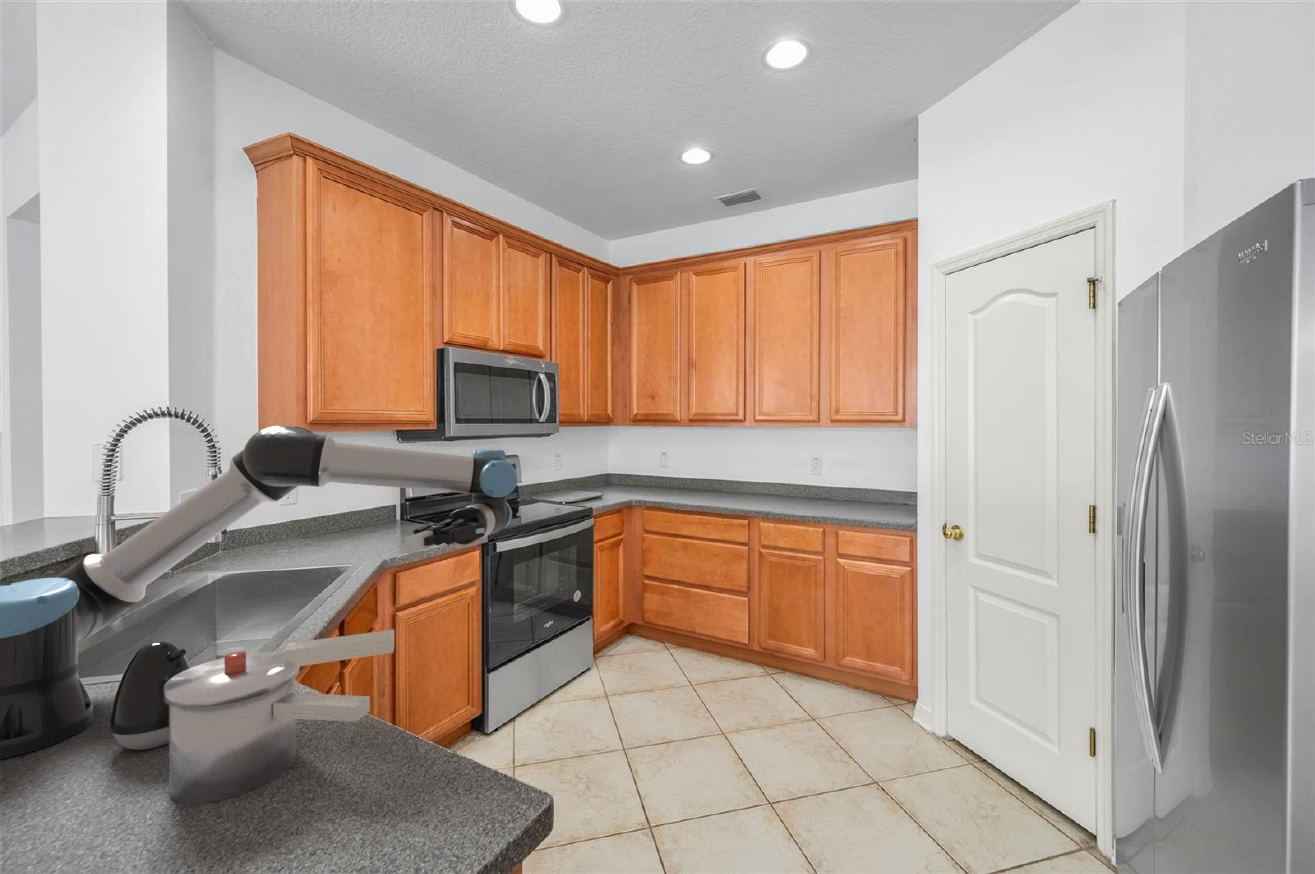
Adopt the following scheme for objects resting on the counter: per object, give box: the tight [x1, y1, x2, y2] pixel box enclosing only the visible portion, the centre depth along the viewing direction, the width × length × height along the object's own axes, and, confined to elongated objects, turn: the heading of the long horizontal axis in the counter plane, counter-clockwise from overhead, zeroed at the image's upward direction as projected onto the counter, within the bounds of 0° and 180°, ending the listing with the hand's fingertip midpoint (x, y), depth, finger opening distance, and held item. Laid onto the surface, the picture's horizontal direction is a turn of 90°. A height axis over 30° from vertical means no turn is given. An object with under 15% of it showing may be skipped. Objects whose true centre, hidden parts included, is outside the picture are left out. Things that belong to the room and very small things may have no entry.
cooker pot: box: [168, 677, 371, 805], centre depth 77 cm, size 26×14×12 cm, turn 84°
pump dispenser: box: [109, 640, 191, 751], centre depth 86 cm, size 10×10×15 cm
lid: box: [164, 629, 395, 708], centre depth 80 cm, size 28×15×4 cm, turn 114°
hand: (409, 544), depth 96 cm, fingers closed
